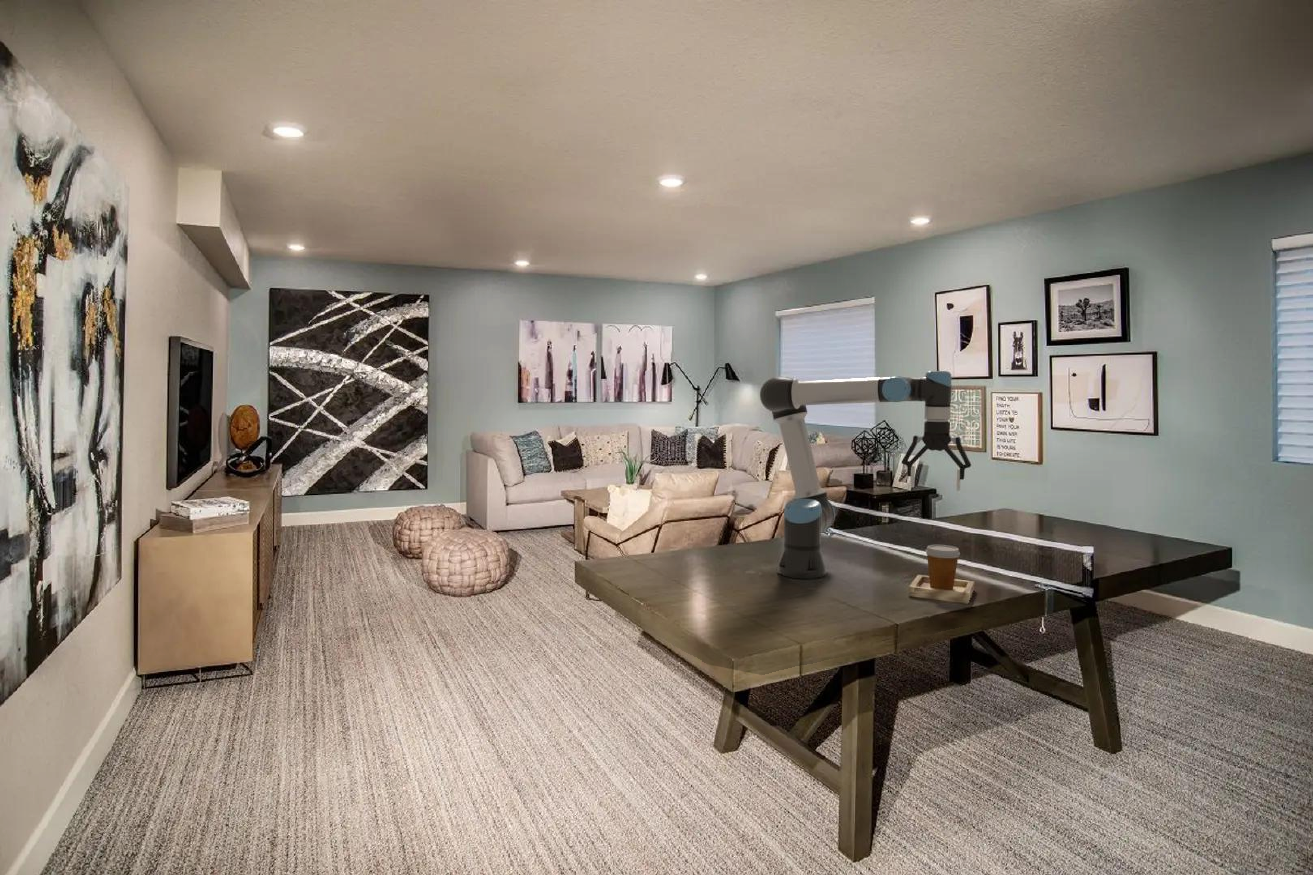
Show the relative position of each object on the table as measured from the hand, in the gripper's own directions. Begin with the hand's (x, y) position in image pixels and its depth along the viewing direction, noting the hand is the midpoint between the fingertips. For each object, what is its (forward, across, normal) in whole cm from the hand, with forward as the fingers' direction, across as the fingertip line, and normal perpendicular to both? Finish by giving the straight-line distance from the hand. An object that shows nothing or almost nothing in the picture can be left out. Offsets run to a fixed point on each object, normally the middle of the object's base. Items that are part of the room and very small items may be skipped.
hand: (935, 488), depth 232 cm
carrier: (+29, -5, +16) cm, 33 cm away
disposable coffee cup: (+28, -5, +15) cm, 32 cm away
